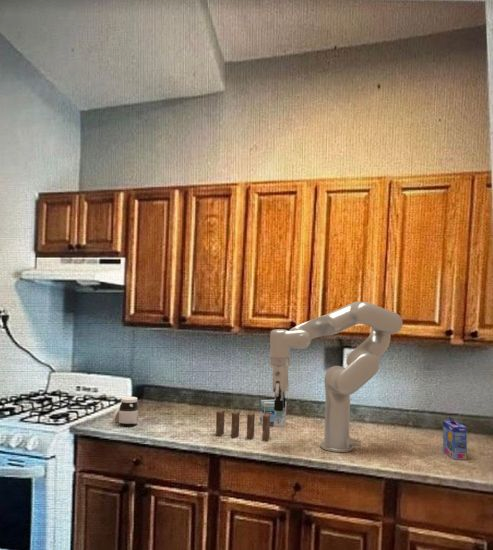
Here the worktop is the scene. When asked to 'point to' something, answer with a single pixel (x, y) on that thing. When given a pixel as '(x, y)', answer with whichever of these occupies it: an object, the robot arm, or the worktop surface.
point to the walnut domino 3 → (250, 425)
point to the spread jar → (127, 412)
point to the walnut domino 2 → (235, 424)
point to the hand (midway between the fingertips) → (279, 408)
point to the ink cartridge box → (455, 439)
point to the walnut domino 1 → (220, 422)
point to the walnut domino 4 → (266, 427)
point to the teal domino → (279, 413)
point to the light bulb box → (272, 413)
